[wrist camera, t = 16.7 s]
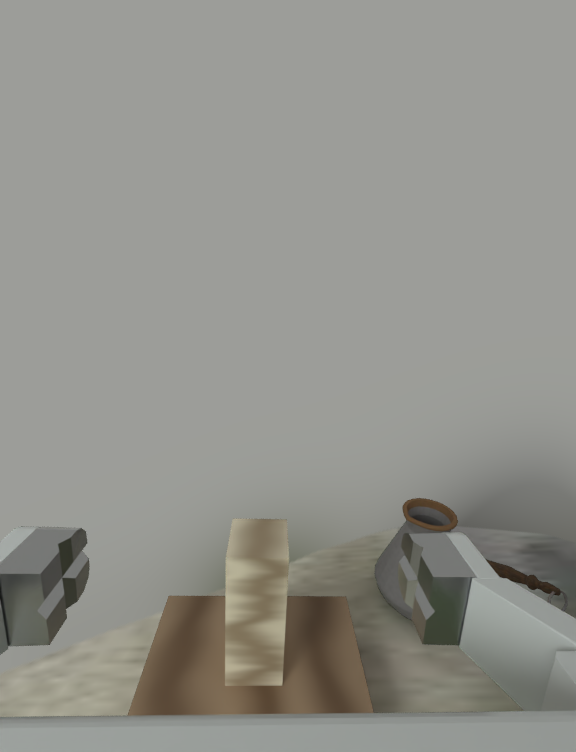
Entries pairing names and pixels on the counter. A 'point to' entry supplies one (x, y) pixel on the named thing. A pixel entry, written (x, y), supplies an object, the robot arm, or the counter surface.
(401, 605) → the coffee pot
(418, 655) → the counter surface
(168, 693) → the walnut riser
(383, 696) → the counter surface
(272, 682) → the birch block
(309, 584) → the counter surface
